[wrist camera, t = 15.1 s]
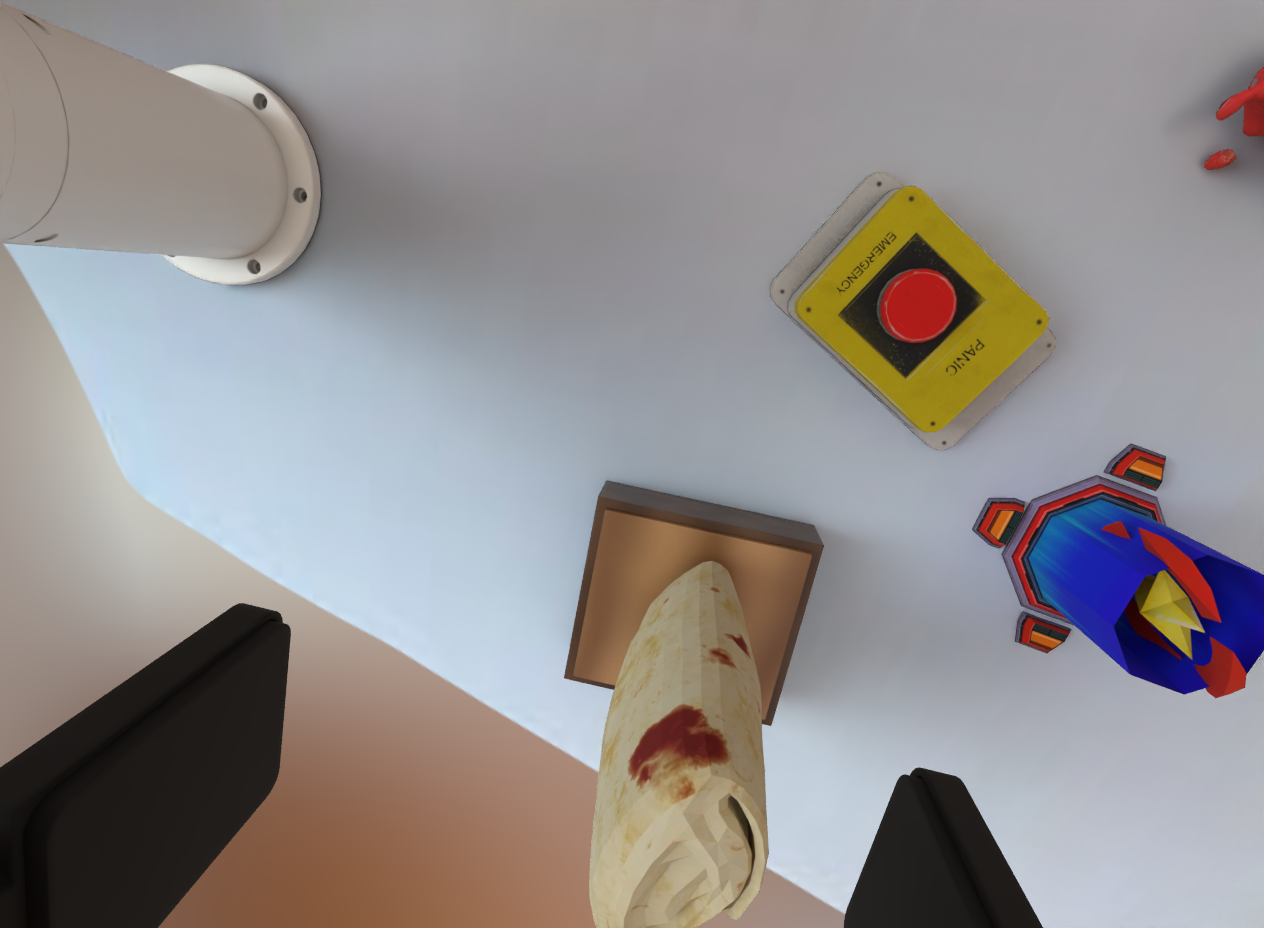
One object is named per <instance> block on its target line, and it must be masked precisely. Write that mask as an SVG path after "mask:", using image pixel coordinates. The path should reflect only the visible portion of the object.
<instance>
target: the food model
mask: <svg viewBox="0 0 1264 928" xmlns="http://www.w3.org/2000/svg"><path fill="white" fill-rule="evenodd" d="M768 854H769V848H768V831H767V814H766V794H765V769H764V757H763V745H762V701H761V689H760V682H759V678H758V673H757V669H756V665H755V661H754V657H753V653H752V649H751V644H750V640H749V635H748V631H747V627H746V623H745V619H744V614H743V611H742V608H741V605H740V602H739V599H738V596H737V593H736V590H735V587H734V584H733V582H732V579H731V577H730V574H729V572H728V570H727V569H725V568H724V567H723V566H722V565H721V564H719V563H717V562H714V561H708V562H703V563H701V564H699V565H697V566H696V567H694V568H692V569H691V570H689V571H688V572H686V573H684V574H683V575H682V576H680V577H679V578H678V579H676V580H675V581H674V582H672V583H671V584H670V585H669V586H668V587H667V588H666V589H665V590H664V591H663V592H662V593H661V594H660V595H659V596H658V597H657V598H656V599H655V600H654V601H653V602H652V603H651V605H650V607H649V608H648V610H647V612H646V614H645V616H644V618H643V620H642V623H641V625H640V628H639V631H638V632H637V634H636V635H635V637H634V638H633V640H632V641H631V643H630V646H629V648H628V651H627V654H626V656H625V659H624V662H623V665H622V667H621V670H620V673H619V676H618V679H617V682H616V685H615V689H614V693H613V696H612V700H611V704H610V708H609V712H608V716H607V720H606V724H605V730H604V736H603V742H602V751H601V760H600V768H599V776H598V783H597V796H596V808H595V815H594V823H593V830H592V844H591V861H590V877H589V881H590V882H589V895H590V902H591V908H592V913H593V917H594V923H595V924H596V927H597V928H696V927H697V926H699V925H701V924H703V923H704V922H706V921H708V920H709V919H711V918H713V917H714V916H715V915H717V914H718V913H719V912H720V911H722V912H723V913H724V914H725V916H726V917H730V918H733V919H737V920H738V918H739V917H740V916H741V914H742V913H743V912H744V910H745V909H746V908H747V907H748V905H749V904H750V903H751V901H752V900H753V899H754V897H755V896H756V895H757V893H758V892H759V890H760V887H761V884H762V881H763V876H764V871H765V868H766V863H767V859H768Z"/></svg>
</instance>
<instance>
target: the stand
mask: <svg viewBox="0 0 1264 928" xmlns="http://www.w3.org/2000/svg"><path fill="white" fill-rule="evenodd" d="M823 547H824V545H823V543H822V541H821V539H820V537H819V535H818V533H817V531H816V529H815V527H814V525H810V524H805V523H800V522H796V521H791V520H787V519H782V518H777V517H773V516H768V515H763V514H759V513H754V512H749V511H745V510H740V509H735V508H731V507H726V506H722V505H717V504H712V503H708V502H703V501H698V500H694V499H689V498H684V497H680V496H675V495H670V494H666V493H661V492H657V491H652V490H647V489H643V488H638V487H633V486H629V485H624V484H619V483H615V482H610V481H606V482H605V484H604V486H603V488H602V490H601V492H600V494H599V496H598V501H597V506H596V511H595V517H594V522H593V527H592V532H591V538H590V543H589V548H588V554H587V559H586V564H585V570H584V575H583V580H582V585H581V591H580V596H579V601H578V607H577V612H576V617H575V623H574V628H573V633H572V638H571V644H570V649H569V654H568V660H567V665H566V670H565V675H564V678H565V679H569V680H574V681H578V682H582V683H587V684H591V685H595V686H600V687H604V688H608V689H613V690H614V689H615V685H616V682H617V679H618V676H619V673H620V670H621V667H622V665H623V662H624V659H625V656H626V654H627V651H628V648H629V646H630V643H631V641H632V640H633V638H634V637H635V635H636V634H637V632H638V631H639V628H640V625H641V623H642V620H643V618H644V616H645V614H646V612H647V610H648V608H649V607H650V605H651V603H652V602H653V601H654V600H655V599H656V598H657V597H658V596H659V595H660V594H661V593H662V592H663V591H664V590H665V589H666V588H667V587H668V586H669V585H670V584H671V583H672V582H674V581H675V580H676V579H678V578H679V577H680V576H682V575H683V574H684V573H686V572H688V571H689V570H691V569H692V568H694V567H696V566H697V565H699V564H701V563H703V562H708V561H714V562H717V563H719V564H721V565H722V566H723V567H724V568H725V569H727V570H728V572H729V574H730V577H731V579H732V582H733V584H734V587H735V590H736V593H737V596H738V599H739V602H740V605H741V608H742V611H743V614H744V619H745V623H746V627H747V631H748V635H749V640H750V644H751V649H752V653H753V657H754V661H755V665H756V669H757V673H758V678H759V682H760V689H761V701H762V724H765V725H769V726H771V725H772V722H773V718H774V715H775V711H776V708H777V704H778V701H779V698H780V694H781V691H782V687H783V684H784V680H785V677H786V674H787V670H788V667H789V663H790V660H791V656H792V653H793V650H794V646H795V643H796V639H797V636H798V632H799V629H800V626H801V622H802V619H803V615H804V612H805V608H806V605H807V602H808V598H809V595H810V591H811V588H812V584H813V581H814V578H815V574H816V571H817V567H818V564H819V560H820V557H821V554H822V550H823Z"/></svg>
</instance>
